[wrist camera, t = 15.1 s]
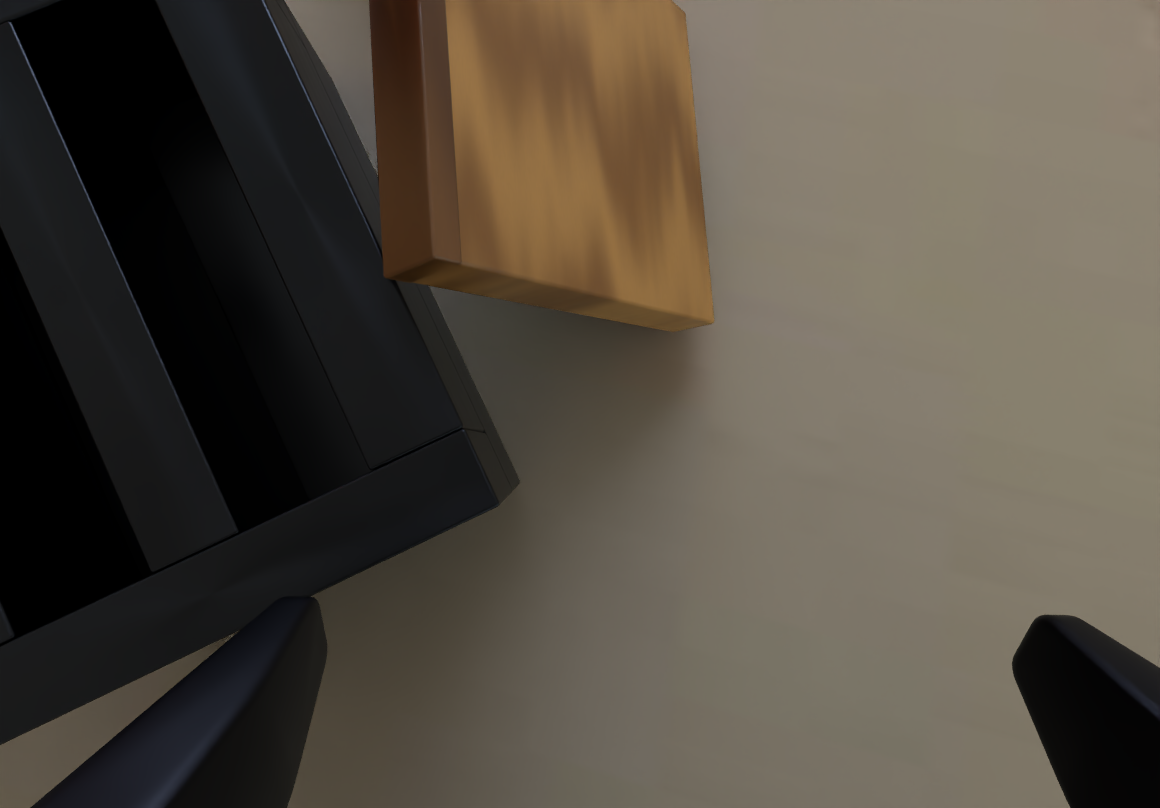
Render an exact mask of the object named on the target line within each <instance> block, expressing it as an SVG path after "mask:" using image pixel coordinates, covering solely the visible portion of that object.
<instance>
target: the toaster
mask: <svg viewBox="0 0 1160 808" xmlns="http://www.w3.org/2000/svg"><path fill="white" fill-rule="evenodd" d="M519 483H520V480H519V478H518V476H517V473H516V471H515V469H514V467H513V465H512V463H511V461H510V458H509V456H508V454H507V452H506V450H505V448H504V446H503V444H502V441H501V439H500V437H499V435H498V433H497V431H496V429H495V426H494V424H493V422H492V420H491V418H490V416H489V414H488V412H487V409H486V407H485V405H484V403H483V401H482V399H481V397H480V394H479V392H478V390H477V388H476V386H475V384H474V382H473V380H472V377H471V375H470V373H469V371H468V369H467V367H466V365H465V363H464V360H463V358H462V356H461V354H460V352H459V350H458V348H457V345H456V343H455V341H454V339H453V337H452V335H451V333H450V331H449V328H448V326H447V324H446V322H445V320H444V318H443V316H442V313H441V311H440V309H439V307H438V305H437V303H436V301H435V299H434V296H433V294H432V292H431V290H430V288H429V286H428V285H423V284H418V283H408V282H402V281H397V280H392V279H387V278H384V275H383V256H382V237H381V218H380V199H379V180H378V177H377V175H376V173H375V171H374V168H373V166H372V164H371V162H370V160H369V158H368V156H367V153H366V151H365V149H364V147H363V145H362V143H361V141H360V139H359V136H358V134H357V132H356V130H355V128H354V126H353V124H352V121H351V119H350V117H349V115H348V113H347V111H346V109H345V107H344V104H343V102H342V100H341V98H340V96H339V94H338V92H337V89H336V87H335V85H334V83H333V81H332V79H331V77H330V75H329V74H328V72H327V70H326V69H325V67H324V65H323V64H322V62H321V60H320V59H319V57H318V55H317V54H316V52H315V50H314V49H313V47H312V46H311V44H310V42H309V41H308V39H307V37H306V36H305V34H304V32H303V31H302V29H301V27H300V26H299V24H298V22H297V21H296V19H295V17H294V16H293V14H292V12H291V11H290V9H289V7H288V6H287V4H286V3H285V1H284V0H0V745H1V744H4V743H6V742H8V741H10V740H12V739H14V738H16V737H18V736H20V735H22V734H24V733H26V732H29V731H31V730H33V729H35V728H37V727H39V726H41V725H43V724H45V723H47V722H49V721H52V720H54V719H56V718H58V717H60V716H62V715H64V714H66V713H68V712H70V711H72V710H74V709H77V708H79V707H81V706H83V705H85V704H87V703H89V702H91V701H93V700H95V699H97V698H99V697H102V696H104V695H106V694H108V693H110V692H112V691H114V690H116V689H118V688H120V687H122V686H125V685H127V684H129V683H131V682H133V681H135V680H137V679H139V678H141V677H143V676H145V675H147V674H150V673H152V672H154V671H156V670H158V669H160V668H162V667H164V666H166V665H168V664H170V663H172V662H175V661H177V660H179V659H181V658H183V657H185V656H187V655H189V654H191V653H193V652H195V651H198V650H200V649H202V648H204V647H206V646H208V645H210V644H212V643H214V642H216V641H218V640H220V639H223V638H225V637H227V636H229V635H231V634H233V633H235V632H237V631H239V630H241V629H243V628H244V627H245V626H246V625H247V624H248V623H250V622H251V621H252V620H253V619H254V618H256V617H257V616H258V615H259V614H260V613H261V612H263V611H264V610H265V609H266V608H267V607H269V606H270V605H271V604H272V603H273V602H275V601H276V600H277V599H279V598H281V597H284V596H301V597H310V596H312V595H314V594H316V593H318V592H321V591H323V590H325V589H327V588H329V587H331V586H333V585H335V584H337V583H339V582H341V581H343V580H346V579H348V578H350V577H352V576H354V575H356V574H358V573H360V572H362V571H364V570H366V569H369V568H371V567H373V566H375V565H377V564H379V563H381V562H383V561H385V560H387V559H389V558H391V557H394V556H396V555H398V554H400V553H402V552H404V551H406V550H408V549H410V548H412V547H414V546H416V545H419V544H421V543H423V542H425V541H427V540H429V539H431V538H433V537H435V536H437V535H439V534H442V533H444V532H446V531H448V530H450V529H452V528H454V527H456V526H458V525H460V524H462V523H464V522H467V521H469V520H471V519H473V518H475V517H477V516H479V515H481V514H483V513H485V512H487V511H489V510H492V509H494V508H496V507H498V506H499V505H500V503H501V502H502V501H503V500H504V499H505V498H506V497H507V496H508V495H509V494H510V493H511V492H512V491H513V490H514V489H515V487H516V486H517V485H518V484H519Z"/></svg>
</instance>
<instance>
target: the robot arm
mask: <svg viewBox="0 0 1160 808" xmlns="http://www.w3.org/2000/svg"><path fill="white" fill-rule="evenodd" d="M326 658H327V639H326V635H325V630H324V625H323V620H322V615H321V610H320V606H319V603H318V601H317V600H316V599H315V598H313V597H301V596H284V597H281V598H279V599H277V600H276V601H275V602H273V603H272V604H271V605H270V606H269V607H267V608H266V609H265V610H264V611H263V612H261V613H260V614H259V615H258V616H257V617H256V618H254V619H253V620H252V621H251V622H250V623H248V624H247V625H246V626H245V627H244V628H243V629H241V630H240V631H239V632H238V633H237V634H235V635H234V636H233V637H232V638H231V639H230V640H228V641H227V642H226V643H225V644H224V645H222V646H221V647H220V648H219V649H218V650H216V651H215V652H214V653H213V654H212V655H211V656H209V657H208V658H207V659H206V660H205V661H203V662H202V663H201V664H200V665H199V666H198V667H196V668H195V669H194V670H193V671H192V672H190V673H189V674H188V675H187V676H186V677H185V678H183V679H182V680H181V681H180V682H179V683H177V684H176V685H175V686H174V687H173V688H171V689H170V690H169V691H168V692H167V693H166V694H164V695H163V696H162V697H161V698H160V699H158V700H157V701H156V702H155V703H154V704H153V705H151V706H150V707H149V708H148V709H147V710H145V711H144V712H143V713H142V714H141V715H140V716H138V717H137V718H136V719H135V720H134V721H132V722H131V723H130V724H129V725H128V726H126V727H125V728H124V729H123V730H122V731H121V732H119V733H118V734H117V735H116V736H115V737H113V738H112V739H111V740H110V741H109V742H108V743H106V744H105V745H104V746H103V747H102V748H100V749H99V750H98V751H97V752H96V753H95V754H93V755H92V756H91V757H90V758H89V759H87V760H86V761H85V762H84V763H83V764H81V765H80V766H79V767H78V768H77V769H76V770H74V771H73V772H72V773H71V774H70V775H68V776H67V777H66V778H65V779H64V780H63V781H61V782H60V783H59V784H58V785H57V786H55V787H54V788H53V789H52V790H51V791H50V792H48V793H47V794H46V795H45V796H44V797H42V798H41V799H40V800H39V801H38V802H37V803H35V804H34V805H33V806H32V807H31V808H287V806H288V803H289V800H290V797H291V794H292V791H293V787H294V784H295V780H296V777H297V773H298V769H299V766H300V762H301V758H302V754H303V750H304V746H305V742H306V738H307V734H308V730H309V726H310V722H311V719H312V715H313V711H314V707H315V703H316V699H317V695H318V691H319V687H320V683H321V679H322V675H323V672H324V668H325V664H326ZM1012 669H1013V674H1014V677H1015V680H1016V683H1017V685H1018V687H1019V690H1020V692H1021V694H1022V697H1023V699H1024V702H1025V704H1026V706H1027V709H1028V711H1029V713H1030V716H1031V718H1032V720H1033V723H1034V725H1035V728H1036V730H1037V732H1038V735H1039V737H1040V739H1041V742H1042V744H1043V746H1044V749H1045V751H1046V754H1047V756H1048V758H1049V761H1050V763H1051V765H1052V768H1053V770H1054V772H1055V775H1056V777H1057V780H1058V782H1059V784H1060V786H1061V788H1062V791H1063V793H1064V795H1065V797H1066V800H1067V802H1068V804H1069V806H1070V808H1160V668H1159V667H1157V666H1156V665H1154V664H1153V663H1151V662H1149V661H1148V660H1146V659H1145V658H1143V657H1141V656H1140V655H1138V654H1136V653H1135V652H1133V651H1132V650H1130V649H1128V648H1127V647H1125V646H1124V645H1122V644H1120V643H1119V642H1117V641H1115V640H1114V639H1112V638H1111V637H1109V636H1107V635H1106V634H1104V633H1103V632H1101V631H1099V630H1098V629H1096V628H1095V627H1093V626H1091V625H1090V624H1088V623H1086V622H1085V621H1083V620H1081V619H1080V618H1077V617H1074V616H1070V615H1041V616H1039V617H1037V618H1036V619H1035V620H1034V621H1033V622H1032V624H1031V626H1030V628H1029V630H1028V631H1027V633H1026V635H1025V637H1024V638H1023V640H1022V642H1021V644H1020V646H1019V647H1018V649H1017V651H1016V653H1015V654H1014V657H1013V661H1012Z"/></svg>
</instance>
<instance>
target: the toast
mask: <svg viewBox="0 0 1160 808" xmlns="http://www.w3.org/2000/svg"><path fill="white" fill-rule="evenodd" d="M369 10H370V29H371V47H372V66H373V85H374V104H375V123H376V142H377V161H378V180H379V199H380V218H381V237H382V256H383V275H384V278H387V279H392V280H397V281H402V282H408V283H418V284H423V285H428V286H433V287H439V288H444V289H449V290H455V291H460V292H465V293H470V294H476V295H481V296H486V297H491V298H497V299H502V300H507V301H512V302H518V303H523V304H528V305H533V306H539V307H544V308H549V309H554V310H560V311H565V312H570V313H576V314H581V315H586V316H591V317H597V318H602V319H607V320H612V321H618V322H623V323H628V324H633V325H639V326H644V327H649V328H654V329H660V330H665V331H670V332H675V331H680V330H685V329H690V328H694V327H699V326H704V325H709V324H712V323H714V312H713V301H712V290H711V280H710V269H709V259H708V248H707V237H706V227H705V216H704V206H703V195H702V185H701V174H700V163H699V153H698V142H697V132H696V121H695V111H694V100H693V89H692V79H691V68H690V58H689V47H688V36H687V26H686V15H685V13H684V11H683V10H681V9H680V8H679V7H678V6H677V5H676V4H675V3H674V2H673V1H672V0H369Z"/></svg>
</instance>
